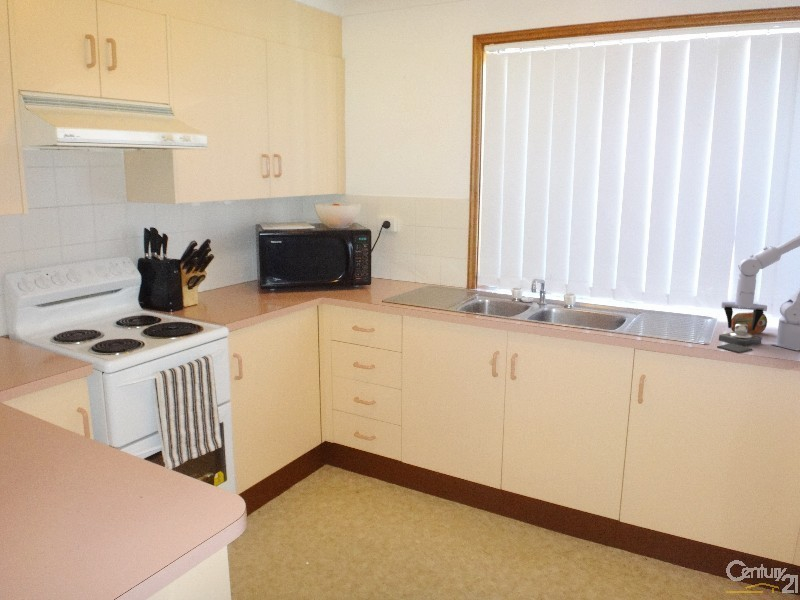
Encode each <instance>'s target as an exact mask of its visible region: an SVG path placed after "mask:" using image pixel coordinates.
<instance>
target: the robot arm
mask: <svg viewBox="0 0 800 600" xmlns="http://www.w3.org/2000/svg"><path fill="white" fill-rule="evenodd" d="M799 247H800V233H798V234H797V235H794V236H793V237H792V238H789V239H788V240H786V241H785V242H783V243H781V244H780V245H777V246H769V247H768V246H764V247H763V248H762V249H763V250H760V251H759V252H756V253H755V254H749V258H748V257H746V258H743V259H741V260H740V262H739V264H738V270H739V274H738V279H737V287H736V295H735V301H721V304H720V307H721V309H724V312H725V315H726V320H727V328H728V329H731V320H732V318H733V314H734V311H733V309H736V310H737V309H739V310H749V311H750V310H751V311H752V312H753V321H752V326H751V329H752V330H755V327H756V324H757V322H758V321H759V319H760V318H761V316H762V315H763V314H764V312H767V310H768V305H767V304H761V303H755V302H754V300H755V294H756V293H755V292H756V285H757V274H758V273H759V271H760V270H763V269H765V268H767V267H770V266H771V265H773V264H775V263H777V262H778V261H780V260H781V257H782V255H784V254H786V253H787V254H788V253H789V252H791V251H793V250H795V249H797V248H799ZM779 313H780V315H781V317H780V318H779V320H778V328H777V334H776V341H774V342H771V343H770V345H772V346H776V347H779V348H784V349H789V350H793V351H795V352H796V351H800V286H799V287H798V288H797V290H796V291H795V293H793V294H792V295H791V296H790V297H789V298H788V299H787V300H786V301H785V302H783V303H782V304H781V305H780V307H779Z"/></svg>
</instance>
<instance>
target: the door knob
mask: <svg viewBox="0 0 800 600" xmlns="http://www.w3.org/2000/svg"><path fill="white" fill-rule="evenodd" d="M747 329H748V325H746V324H736V325H735V332H733V331H731V332H729V333H730V334H729V335H730V336H731V337H734V338H740V339H750V338H752V336H753V334H748V333H747Z"/></svg>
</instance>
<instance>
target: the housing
mask: <svg viewBox="0 0 800 600" xmlns="http://www.w3.org/2000/svg"><path fill="white" fill-rule="evenodd" d="M729 334H730V332H728V333H727V332H726V333H723V334H719V335H718V341H720V342H721V341H722V342H724V343H727V344H730V343H732V344H736V345H740V346H744V347H749V346H755V345H758V344H762V339H763V338H762V337H760V336H756V335H752V338H750V339H740V338H734V337H731V336H730V335H729Z"/></svg>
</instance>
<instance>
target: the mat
mask: <svg viewBox="0 0 800 600" xmlns="http://www.w3.org/2000/svg"><path fill="white" fill-rule="evenodd" d="M716 348H717V349H721V350H724V351H725V350H726V351H729V352H733V353H737V354H741V353H746V352H750V351H753V348H751V347H749V346H745V347H744V346H740V345H736V344H732V343H726V344H721V345H717V346H716Z"/></svg>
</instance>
